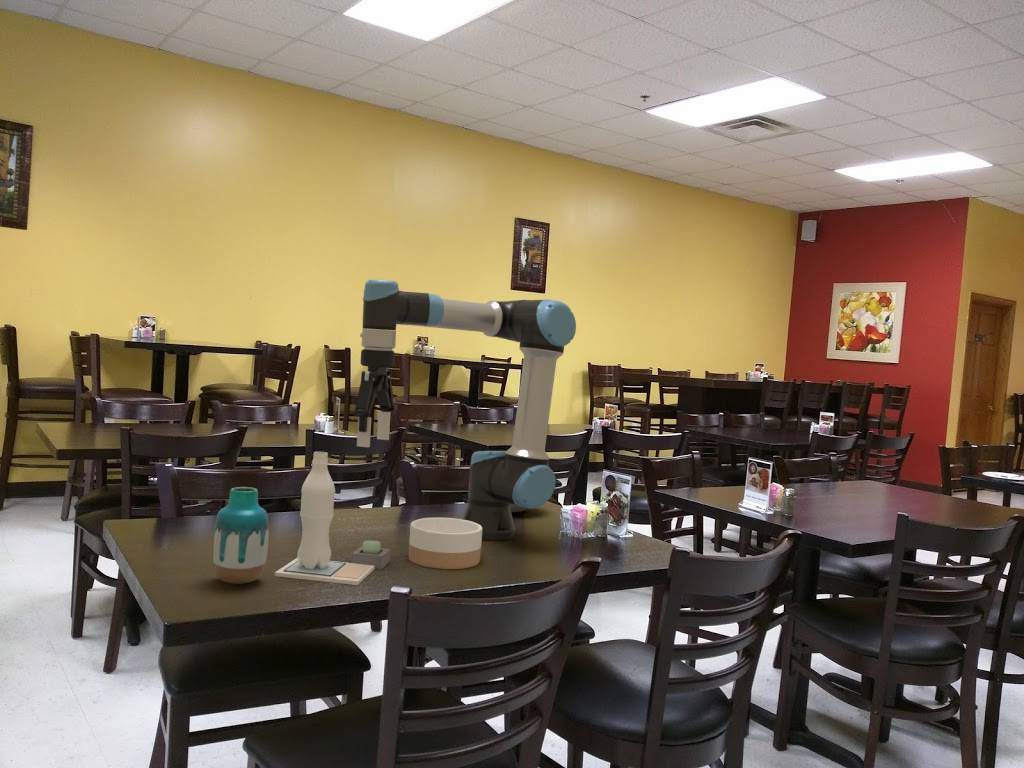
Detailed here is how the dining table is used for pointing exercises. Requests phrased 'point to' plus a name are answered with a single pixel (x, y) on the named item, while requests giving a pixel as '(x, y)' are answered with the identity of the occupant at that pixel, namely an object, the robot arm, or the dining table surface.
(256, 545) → the vase
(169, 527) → the dining table surface
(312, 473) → the water bottle
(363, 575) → the cream rectangular board
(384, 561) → the button housing
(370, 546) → the button
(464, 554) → the bowl
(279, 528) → the dining table surface
